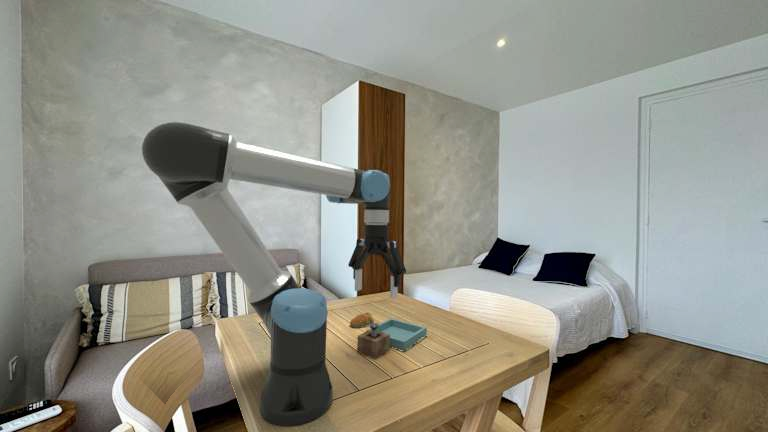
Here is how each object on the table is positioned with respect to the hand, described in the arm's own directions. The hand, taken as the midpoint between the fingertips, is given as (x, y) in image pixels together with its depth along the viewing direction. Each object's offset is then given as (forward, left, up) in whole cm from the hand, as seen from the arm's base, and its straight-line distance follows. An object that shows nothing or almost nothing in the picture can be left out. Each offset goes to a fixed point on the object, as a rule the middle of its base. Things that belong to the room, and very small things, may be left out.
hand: (375, 293), depth 89 cm
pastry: (+15, +17, -18) cm, 29 cm away
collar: (0, 0, -18) cm, 18 cm away
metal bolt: (0, 0, -18) cm, 18 cm away
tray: (+13, 0, -18) cm, 22 cm away
